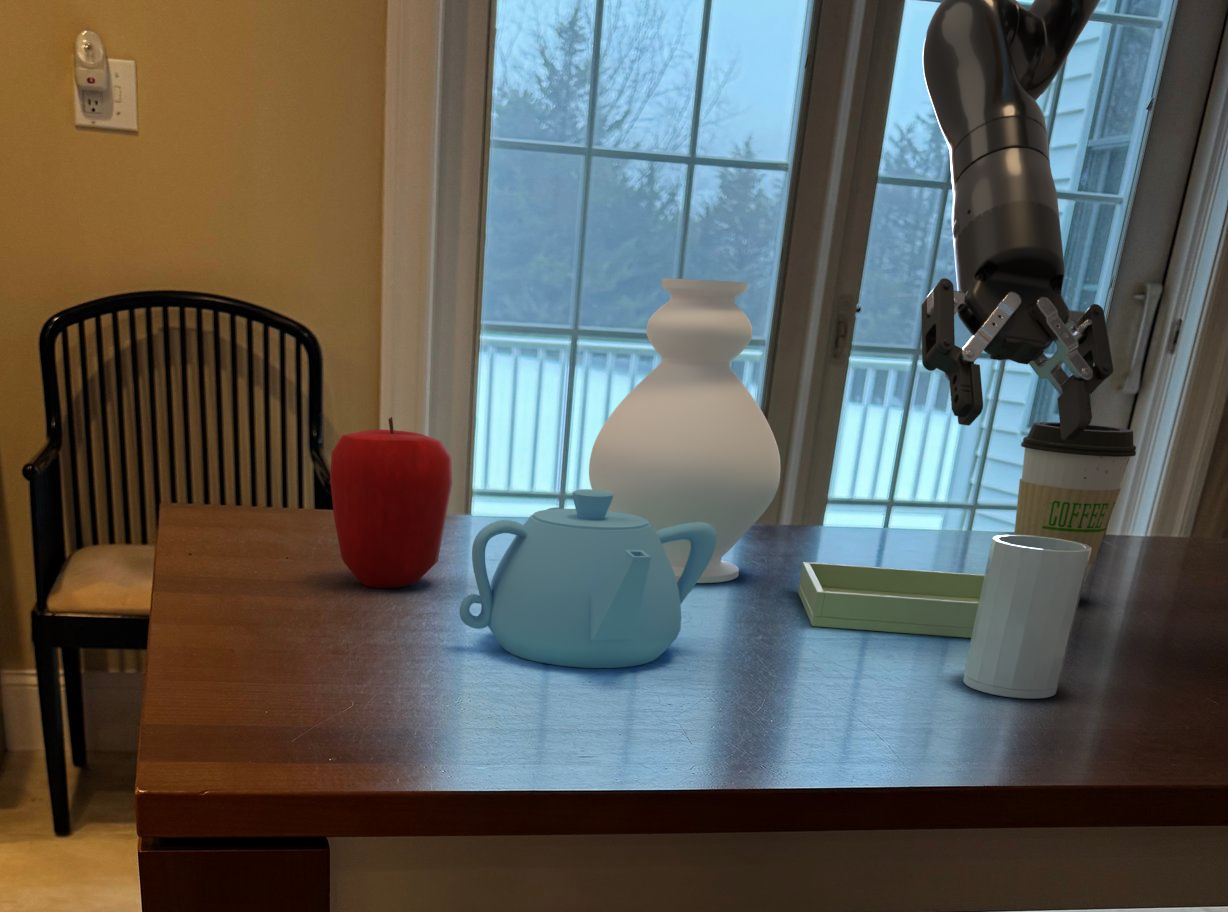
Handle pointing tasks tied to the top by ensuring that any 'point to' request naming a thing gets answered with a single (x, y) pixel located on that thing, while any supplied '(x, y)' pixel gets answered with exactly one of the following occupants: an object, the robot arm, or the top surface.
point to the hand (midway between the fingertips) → (1023, 426)
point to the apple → (390, 504)
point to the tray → (890, 599)
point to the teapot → (586, 585)
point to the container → (1025, 615)
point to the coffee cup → (1071, 482)
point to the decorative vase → (691, 429)
